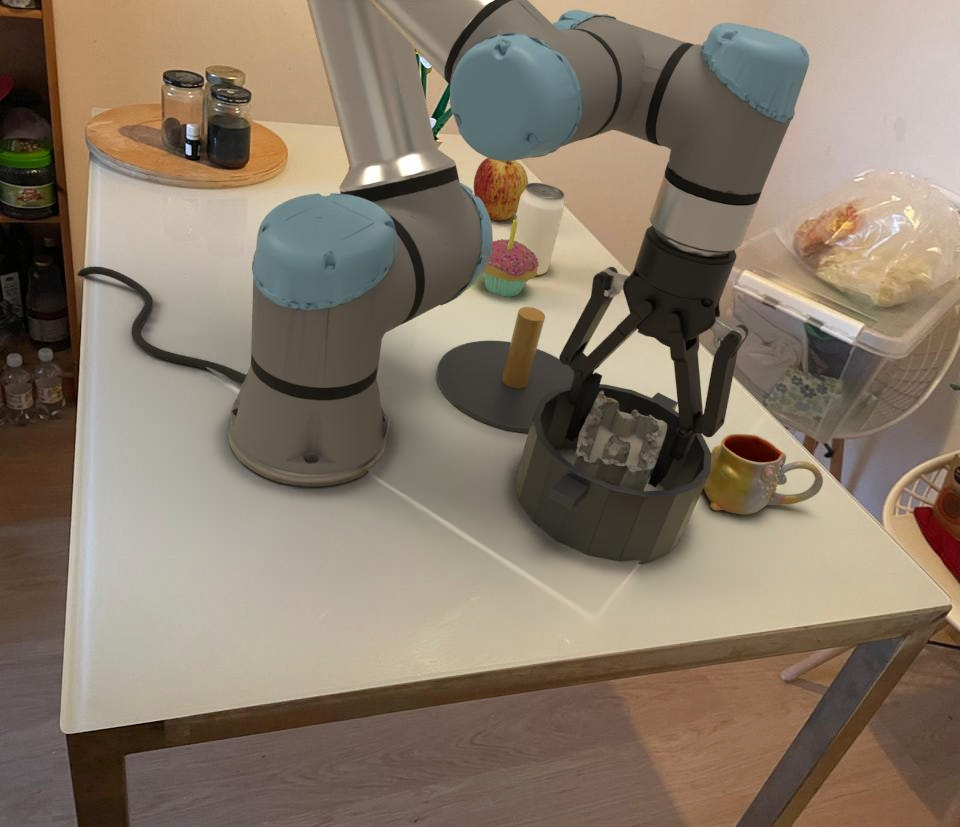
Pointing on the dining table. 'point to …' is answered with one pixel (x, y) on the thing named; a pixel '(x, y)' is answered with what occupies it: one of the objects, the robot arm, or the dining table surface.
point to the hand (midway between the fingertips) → (615, 455)
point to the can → (539, 221)
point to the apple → (500, 187)
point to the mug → (752, 475)
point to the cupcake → (509, 266)
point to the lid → (503, 375)
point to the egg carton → (619, 444)
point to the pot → (607, 486)
